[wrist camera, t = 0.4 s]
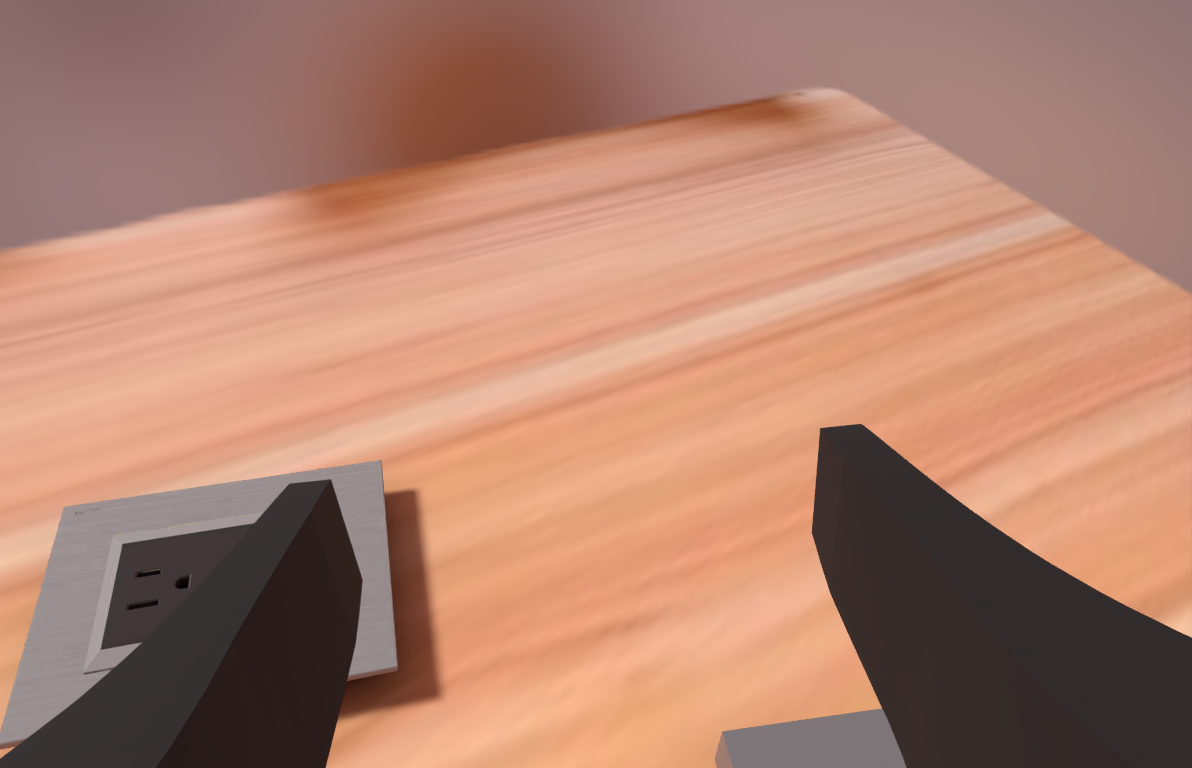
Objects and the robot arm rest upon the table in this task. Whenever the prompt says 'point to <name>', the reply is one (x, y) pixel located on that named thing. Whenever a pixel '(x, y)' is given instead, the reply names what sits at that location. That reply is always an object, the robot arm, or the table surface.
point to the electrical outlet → (173, 581)
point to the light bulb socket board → (814, 744)
